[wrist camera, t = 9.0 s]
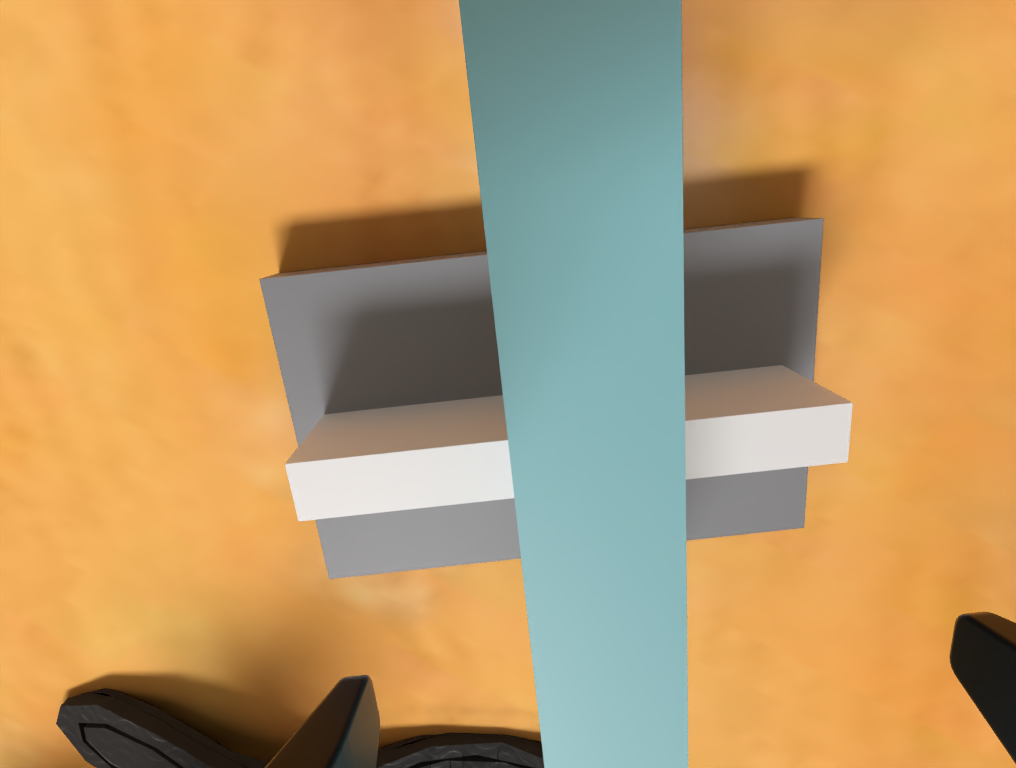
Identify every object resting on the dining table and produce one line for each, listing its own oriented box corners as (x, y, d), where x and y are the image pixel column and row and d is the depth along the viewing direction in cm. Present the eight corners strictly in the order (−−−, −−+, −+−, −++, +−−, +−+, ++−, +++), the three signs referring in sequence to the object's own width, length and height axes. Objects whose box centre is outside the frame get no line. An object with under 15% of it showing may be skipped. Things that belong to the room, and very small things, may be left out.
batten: (643, 730, 17) (689, 885, 13) (543, 741, 17) (559, 899, 13) (616, 47, 11) (681, -35, 8) (468, 62, 11) (457, -11, 8)
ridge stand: (796, 217, 17) (912, 220, 13) (782, 505, 20) (871, 596, 16) (278, 273, 17) (198, 297, 13) (340, 553, 20) (295, 658, 16)
